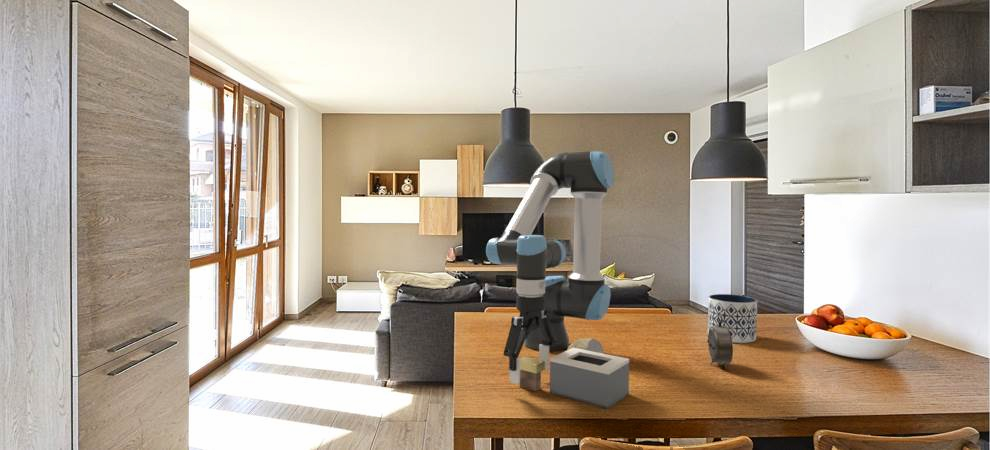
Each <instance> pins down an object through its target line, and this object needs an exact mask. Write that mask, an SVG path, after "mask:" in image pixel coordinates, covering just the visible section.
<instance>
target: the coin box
mask: <svg viewBox="0 0 990 450" xmlns="http://www.w3.org/2000/svg"><path fill="white" fill-rule="evenodd" d="M629 384H630V358H627V357H621V356H616V355H612V354H607V353H604V354H602V353H598V352H593V351H588V350H583V349H578V348H571V349H569V350H565V351H562V352H561V353H559V354H556V355H554V356H552V357H549V394H552V395H555V396H560V397H563V398H565V399H571V400H572V401H573V400H574V401H578V402H582V403H584V404H589V405H592V406H595V405H596V406H595V407H599V406H600V407H599V408H603V409H607V410H609V409H610V408H611V407H613V406H615V404H617V403H618V402H620V401H621V400H623V399H624V398H625V397H627V396H628V395H629V391H630V390H629V388H630V387H629V386H630V385H629Z"/></svg>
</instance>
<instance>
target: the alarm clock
mask: <svg viewBox="0 0 990 450" xmlns="http://www.w3.org/2000/svg"><path fill="white" fill-rule="evenodd" d="M719 313H720V314H721V321H719ZM719 313H718V321H719V322H718V323H719V324H718V326H712V327H711V328H710V329H709V333H708V332H707V341H706V342H707V346H708V352H709V355H710V358H711V361H710V362H711V363H710V366H711V365H713V363H715V364H719V365H720V364H723V366H724V370H725V371H726V372H727V371H728V365H727V364H729V365H730V364H731V363H732V361H733V356H734V354H733V352H734V345H733V343H732V338H731V334H730V331H729V329H728V327H727V326H722V325H721V323H722V313H721V312H719Z"/></svg>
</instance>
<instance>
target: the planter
mask: <svg viewBox="0 0 990 450" xmlns="http://www.w3.org/2000/svg"><path fill="white" fill-rule="evenodd" d="M707 305H708V307H707V308H708V312H707V334H708V333H709V329H710V328H711V327H712V326H718V324H719V323H718V322H719V321H721V314H720V313H719V312H721V313H722V323H721V325H722V326H727V327H728V329H729V331H730V334H731V338H732V344H749V343H753V342H755V341H756V340H757V327H758V326H757V324H758V323H757V322H758V300H757V299H756V298H755V297H751V296H747V295H740V294H731V293H730V294H729V293H722V294H721V293H719V294H718V293H716V294H711V295H710V294H709V296H708V304H707ZM718 313H719V321H718Z"/></svg>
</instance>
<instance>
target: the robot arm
mask: <svg viewBox="0 0 990 450" xmlns="http://www.w3.org/2000/svg"><path fill="white" fill-rule="evenodd" d="M614 179H615V173H614V165H613V163H612V160H611V158H610V156H609V154H608V153H606V152H605V151H595V150H591V151H590V150H589V151H579V152H578V151H575V152H561V153H560V152H559V153H557V154H555V155H553V156H551V157H549V158H548V159H547V160H545V161H544V162H543V163H542V164H541V165H539V166H538V167H537V168H536V170H535V171H534V173H533V174H532V176H531V178H530V180H529V181H530V183H529V184H530V186H529V188H528V189H527V190H526V192H525V194H524V196H523V198H522V200H521V201H520V203H519V205H518V207H517V208H516V210H515V213H514V214H513V216H512V217H511V219H510V220H509V223H508V225H507V226H506V228H505V229H504V231H503V233H502V235H501V236H500V237H493V238H491V239H489V240H488V242H487V244H486V247H485V254H486V257H487V260H488V261H489V263H492V264H495V265H501V266H516V290H515V291H516V294H517V295H516V296H515V297H516V301H515V303H516V304H515V305H516V306H515V307H516V309H517V310H518V311H519V316H511V322H510V323H511V324H510V329H509V330H508V331H509V332H508V336H507V339H506V343H505V346H504V350H503V353H502V355H503V356H505V357H508V359H509V361H508V370H509V383H513V384H516V385H520V358H521V357H519V355H520V353H521V351H522V349H523V346H525V347H527V348H528V349H529V348H530V349H533V350H538V353H539V354H538V360H542V361H545V370H544V371H550V351H561V350H565V349H568V346H569V345H570V338H569V335H568V331H567V328H566V325H565V317H566V318H573V319H574V318H575V319H582V320H586V321H600V320H602V319H603V318H604V317H605V315H606V314H607V312H608V309H609V307H610V306H609V305H610V301H611V296H612V294H611V287H610V286H609V285H608V284H607V283H606V284H605V282H606V281H605V277H604V276H603V275H602V274H601V251H602V250H601V246H602V215H603V214H602V209H603V208H602V207H603V198H605V196H607V194H608V189H611V188H612V187H613V186H614V185H613V184H614ZM561 189H570V195H571V196H572V197H573V198H574V226H573V227H574V230H573V231H574V232H573V234H574V235H573V260H572V261H573V264H572V265H573V266H572V267H573V268H572V273H571V274H569V275H568V278H567V279H568V280H566V278H565V276H564V275H547V276H546V274H547V271H546V269H551V268H552V269H553V268H554V269H555V268H556V267H558V266H560V265H562V264H563V263H564V262H565V260H566V257H567V251H566V250H567V249H566V248H565V245H564V244H563V243H562V242H561V241H560V240H555V239H547V238H546V236H544V235H543V234H541V235H540V234H533V232H534V230H535V229H536V227H537V224H538V222H539V220H540V218H541V217H542V215H543V213H544V211H545V209H546V207H547V205H548V204H549V201H550V199H551V197H553V196H555V195H556V194H557V192H558V190H561Z"/></svg>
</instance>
